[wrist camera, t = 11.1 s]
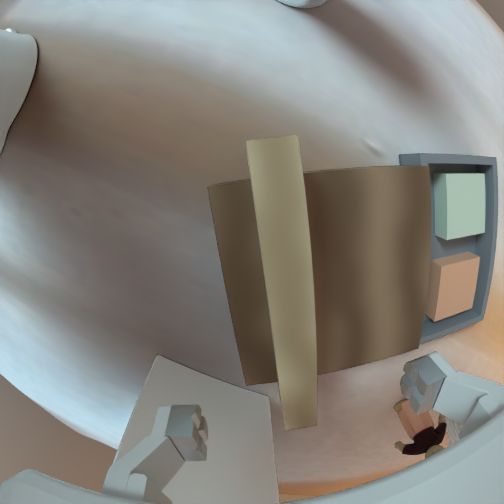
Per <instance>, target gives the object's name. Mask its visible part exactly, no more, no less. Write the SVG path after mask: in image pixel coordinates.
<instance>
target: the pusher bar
mask: <svg viewBox="0 0 504 504" xmlns="http://www.w3.org/2000/svg"><path fill="white" fill-rule="evenodd" d="M246 151H247V158H248V165H249V172H250V179H251V186H252V193H253V200H254V207H255V214H256V221H257V228H258V235H259V242H260V250H261V257H262V264H263V271H264V279H265V286H266V294H267V301H268V309H269V316H270V324H271V331H272V339H273V347H274V354H275V362H276V370H277V378H278V386H279V394H280V401H281V408H282V415H283V422H284V429H285V431H286V430H293V429H299V428H305V427H310V426H316V425H317V349H316V320H315V300H314V283H313V268H312V255H311V243H310V232H309V222H308V212H307V203H306V194H305V185H304V177H303V169H302V162H301V155H300V147H299V141H298V135H293V136H283V137H273V138H264V139H256V140H249V141H246Z"/></svg>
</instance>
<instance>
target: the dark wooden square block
mask: <svg viewBox="0 0 504 504" xmlns="http://www.w3.org/2000/svg"><path fill="white" fill-rule="evenodd" d="M303 177H304V185H305V194H306V203H307V212H308V222H309V232H310V243H311V255H312V268H313V283H314V300H315V320H316V349H317V375H320V374H325V373H330V372H334V371H339V370H343V369H347V368H352V367H356V366H360V365H364V364H367V363H371V362H375V361H379V360H382V359H386V358H389V357H392V356H396V355H399V354H402V353H405V352H408V351H411V350H414V349H417V348H418V347H419V342H420V337H421V332H422V326H423V320H424V314H425V307H426V299H427V291H428V281H429V270H430V255H431V187H430V172H429V166H375V167H358V168H344V169H331V170H320V171H310V172H303ZM208 192H209V198H210V204H211V210H212V216H213V222H214V228H215V234H216V239H217V245H218V250H219V256H220V261H221V267H222V272H223V277H224V282H225V288H226V293H227V298H228V303H229V308H230V313H231V318H232V323H233V327H234V332H235V337H236V342H237V346H238V351H239V356H240V360H241V365H242V369H243V374H244V378H245V383H246V386H248V385H256V384H265V383H272V382H278V378H277V370H276V362H275V354H274V347H273V339H272V331H271V324H270V316H269V309H268V301H267V294H266V286H265V279H264V271H263V264H262V257H261V250H260V242H259V235H258V228H257V221H256V214H255V207H254V200H253V193H252V186H251V179H245V180H238V181H232V182H226V183H219V184H215V185H212V186H209V187H208Z"/></svg>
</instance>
